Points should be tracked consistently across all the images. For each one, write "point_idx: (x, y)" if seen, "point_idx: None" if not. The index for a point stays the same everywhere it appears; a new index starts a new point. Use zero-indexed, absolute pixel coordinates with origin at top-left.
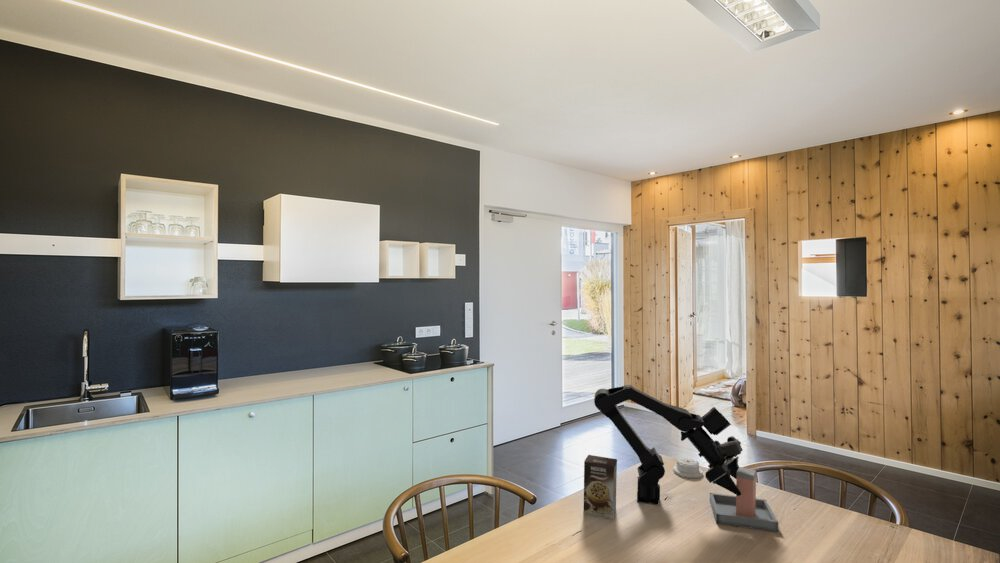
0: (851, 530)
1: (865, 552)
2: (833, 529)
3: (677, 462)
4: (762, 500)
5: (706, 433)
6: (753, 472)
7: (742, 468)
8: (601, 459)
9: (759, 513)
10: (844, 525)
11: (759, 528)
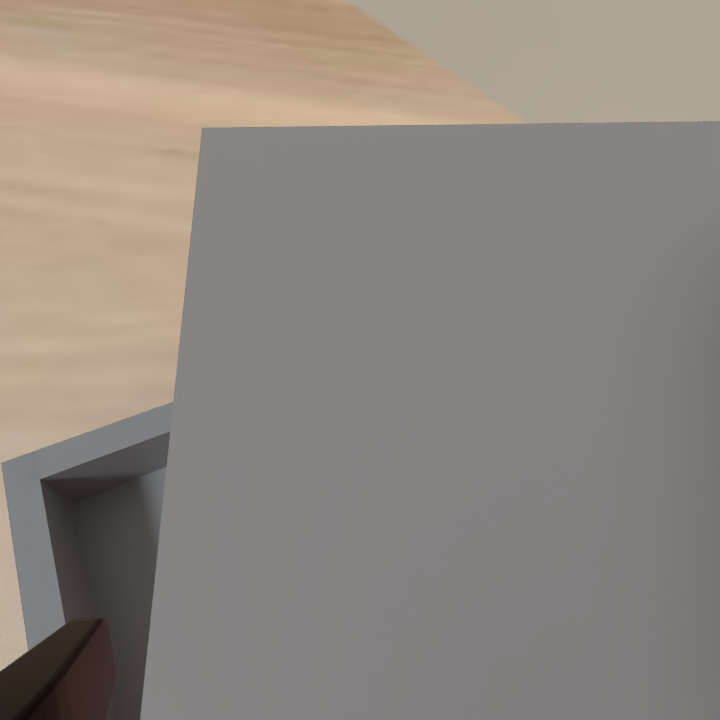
0: (133, 59)
1: (359, 23)
2: (176, 113)
3: None
4: (42, 489)
5: None
6: (468, 155)
7: (309, 629)
8: None
9: None
10: (81, 80)
11: None
